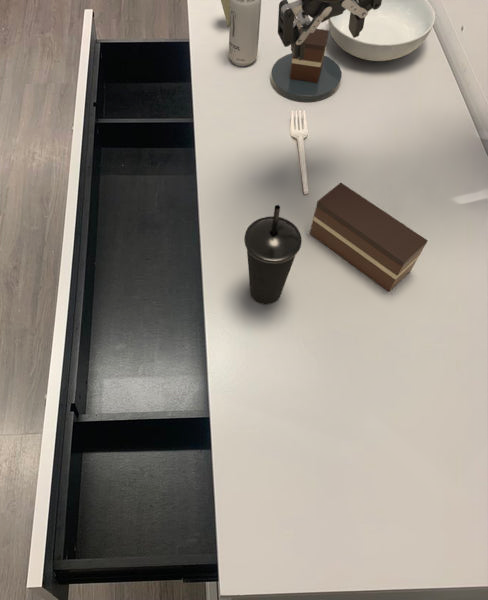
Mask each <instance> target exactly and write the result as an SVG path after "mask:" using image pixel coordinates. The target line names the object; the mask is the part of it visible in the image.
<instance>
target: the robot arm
mask: <svg viewBox="0 0 488 600" xmlns="http://www.w3.org/2000/svg"><path fill="white" fill-rule="evenodd" d="M381 2H382V0H294V1H293V2H290V3H289V1H288V0H281V1H280V2H279V3H278V18H277V35H278V36H279V38H280V39H279V40H280V41H281V43H282V44H283V46H284V47H285V48H287V47H290V51H291V53H293V55H294V57H295V58H298V59H299V61H300V60H302V59H304V51H305V42H304V40H305V39H306V38H307V36H308V35H309V33H313V32H314V31H315V30H316V29H318V27H319V26H320V24H321V23H324V22H326V21H328V19H330V18H331V17H334V16H338V15H341V14H343V11H345V10H346V9H347V10H349V11H350V12H351V13H350V20H349V31H350V32H351V34H352V36H353V38H355V37H358V36H359V33H360V32H361V31H362V29H363V26H364V21H365V17H366V16H367V15H368V11H369V10H371V9H372V8H373V10H376V9H378V8H379V7H380V6H381ZM311 18H312V19H311ZM301 27H303V28H302V30H301V32H300V31H299V30H300V28H301Z"/></svg>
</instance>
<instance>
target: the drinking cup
mask: <svg viewBox="0 0 488 600" xmlns="http://www.w3.org/2000/svg"><path fill="white" fill-rule="evenodd" d="M280 211H281V206H280V205H279V204H276V205H274V209H273V215H271V216H264V217H261V218H258V219H256V220H254V221H253V222H251V224H249V225H248V227H247V228H246V230H245V233H244V236H243V237H244V240H243V241H244V242H243V243H244V246H245V249H246V257H247V267H248V268H247V269H248V270H247V271H248V281H249V293H250V296H251V298H252V299H253V300H254V301H255V302H256V303H258V304H260V305H271V304H275V303H276V302H277V301H278V300H279V299H280V298H281V296H280V295H282V293H283V290H284V288H285V285H286V281H287V280H288V276H289V274H290V271H291V269H292V266H293V263H294V261H295V259H296V256H297V255H298V253H299V251H300V249H301V247H302V242H303V240H302V234H301V231H300V230H299V228H298V227H297V226H296V225H295V224H294V223H293V222H292V221H290V220H288V219H286V218H283V217H280Z"/></svg>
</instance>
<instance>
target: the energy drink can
mask: <svg viewBox="0 0 488 600" xmlns="http://www.w3.org/2000/svg"><path fill="white" fill-rule="evenodd" d="M261 10H262V0H230V23H229V27H228V28H229V30H228V31H229V32H228V58H229V60H230V61H231V63H232V64H234V65H236V66H238V67H247V66H250V65H252V64H253V63H254V62H255V61H256V60H257V58H258V55H259V54H258V52H259V40H260V39H259V38H260V23H261V13H262V12H261Z"/></svg>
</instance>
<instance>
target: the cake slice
mask: <svg viewBox="0 0 488 600" xmlns="http://www.w3.org/2000/svg"><path fill="white" fill-rule="evenodd" d="M302 28H303V27H301V28H300V30H299V31H300V32H301V30H302ZM329 34H330V29H321V28H317V29H316V30H315V31H314V32H313V33H309V35H308V36H307V38H306V39H305V40H304V42H305V51H304V59H302V60H300V61H299V59H298V58H295V57H294V55H293V58H292V65H291V73H290V79H295V80H302V81H308V82H315V83H318V80H319V76H320V73H321V69H322V65H323V60H324V55H325V54H326V48H327V43H328V38H329Z"/></svg>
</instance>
